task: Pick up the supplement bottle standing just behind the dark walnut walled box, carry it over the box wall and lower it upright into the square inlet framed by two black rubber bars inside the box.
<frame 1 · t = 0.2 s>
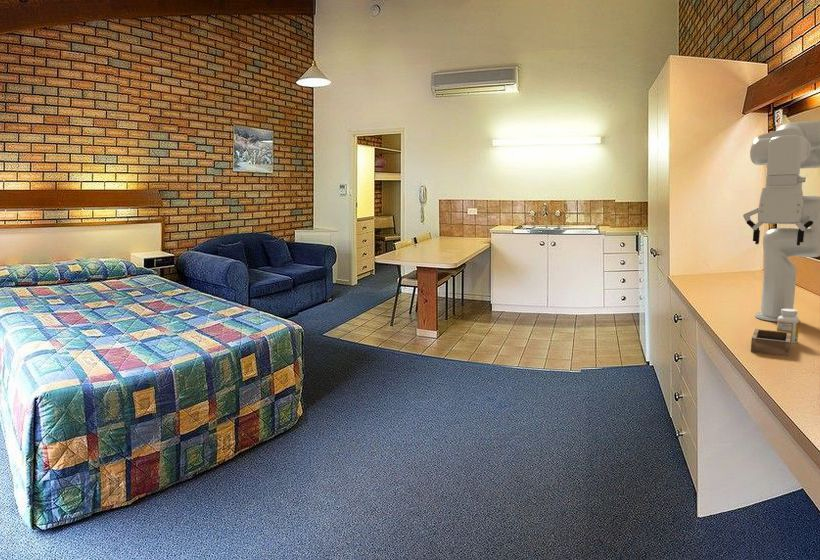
hand: (777, 244, 155), 30 cm above the table, fingers open, 9 cm apart
supplement bottle: (786, 342, 168), on the table
walled box: (770, 348, 161), on the table
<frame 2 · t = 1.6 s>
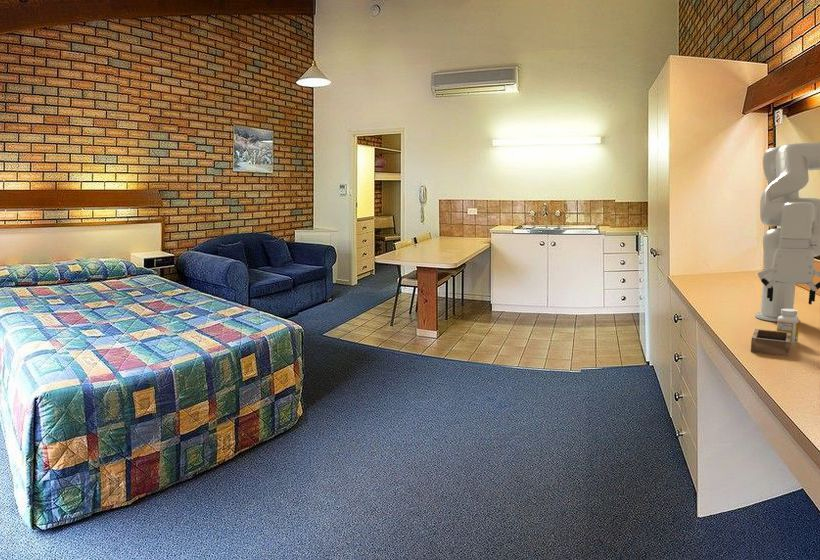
hand: (790, 302, 165), 12 cm above the table, fingers open, 9 cm apart
nothing on the table moved.
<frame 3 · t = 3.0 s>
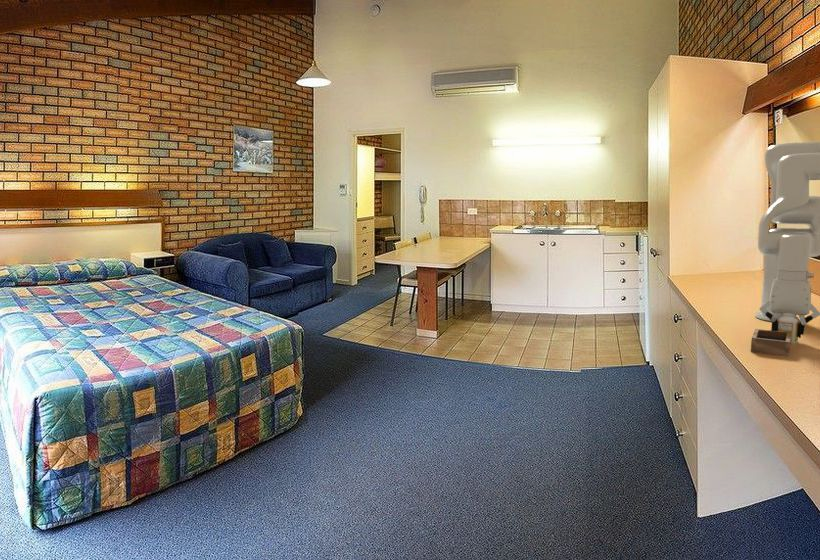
hand: (787, 334, 167), 2 cm above the table, fingers closed on supplement bottle, 5 cm apart
supplement bottle: (786, 342, 168), on the table, touching gripper
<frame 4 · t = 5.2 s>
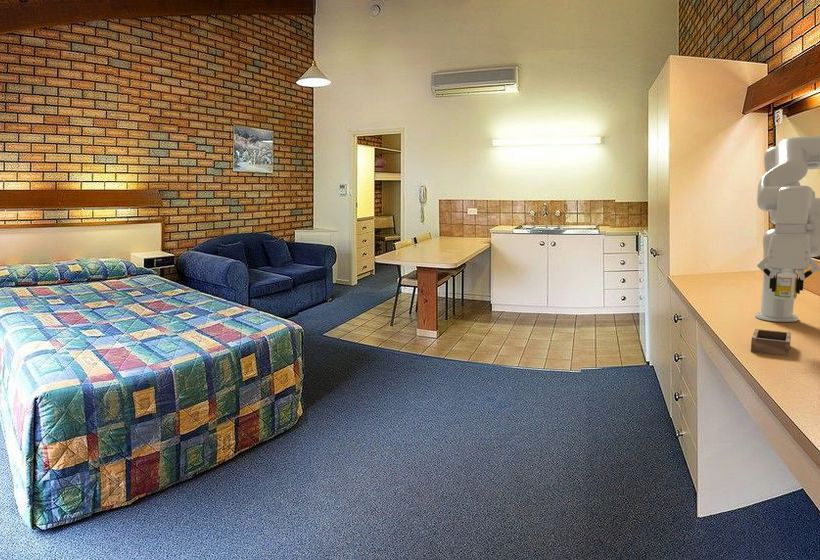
hand: (785, 291, 162), 16 cm above the table, fingers closed on supplement bottle, 5 cm apart
supplement bottle: (785, 298, 163), point 14 cm above the table, touching gripper
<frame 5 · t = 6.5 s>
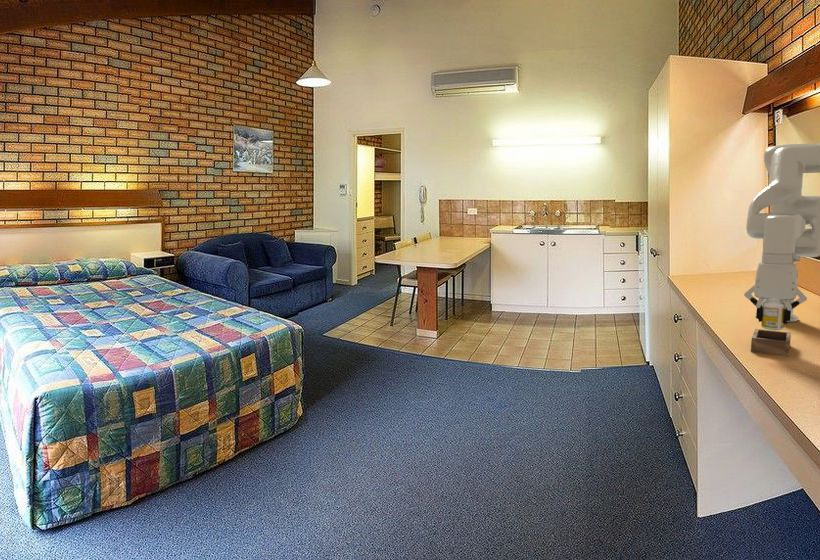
hand: (772, 321, 159), 8 cm above the table, fingers closed on supplement bottle, 5 cm apart
supplement bottle: (772, 328, 160), point 6 cm above the table, touching gripper
when the fingers open (4 cm above the table, at t = 7.7 s): supplement bottle drops 1 cm, resting on walled box.
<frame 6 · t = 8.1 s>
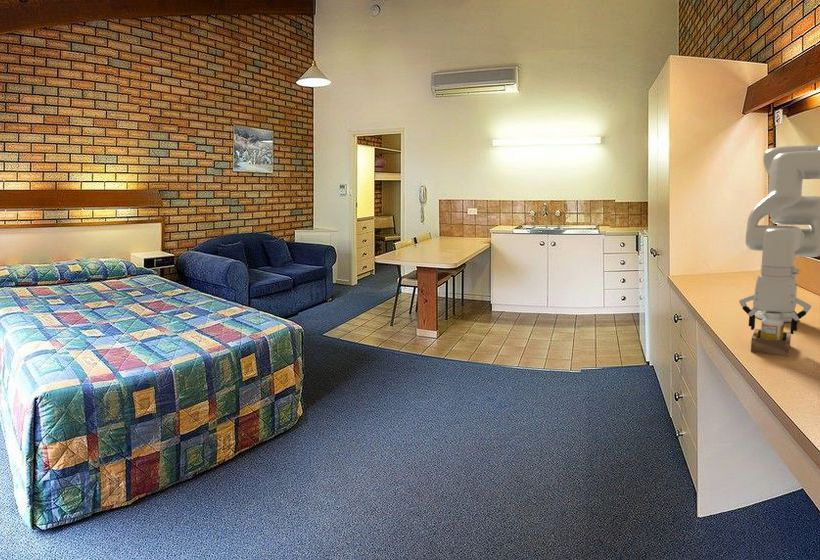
hand: (772, 330, 160), 5 cm above the table, fingers open, 9 cm apart
supplement bottle: (770, 345, 161), point 1 cm above the table, touching walled box
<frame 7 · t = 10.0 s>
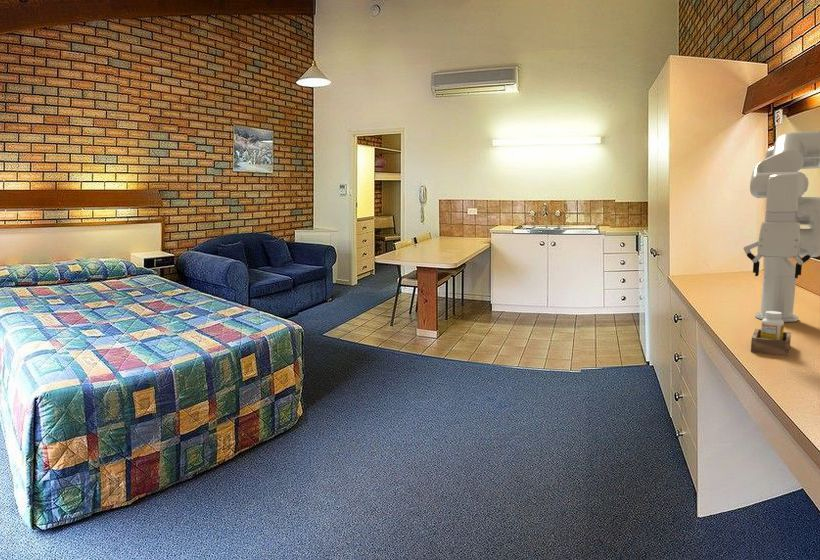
hand: (776, 276, 162), 20 cm above the table, fingers open, 9 cm apart
nothing on the table moved.
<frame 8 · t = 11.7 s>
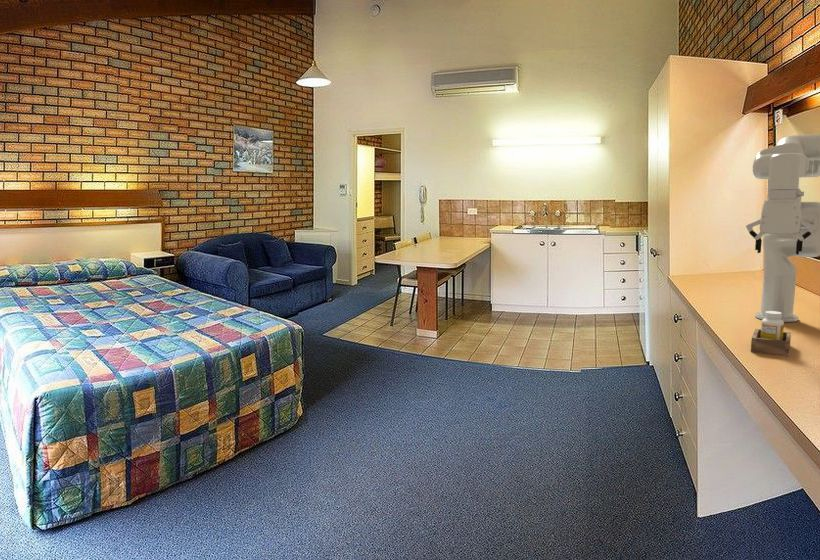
hand: (777, 253, 167), 26 cm above the table, fingers open, 9 cm apart
nothing on the table moved.
at the end: supplement bottle 0.2 cm off-centre on the walled box, point 0.8 cm above the walled box's base; supplement bottle tilted 0°; the gripper is holding nothing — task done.
